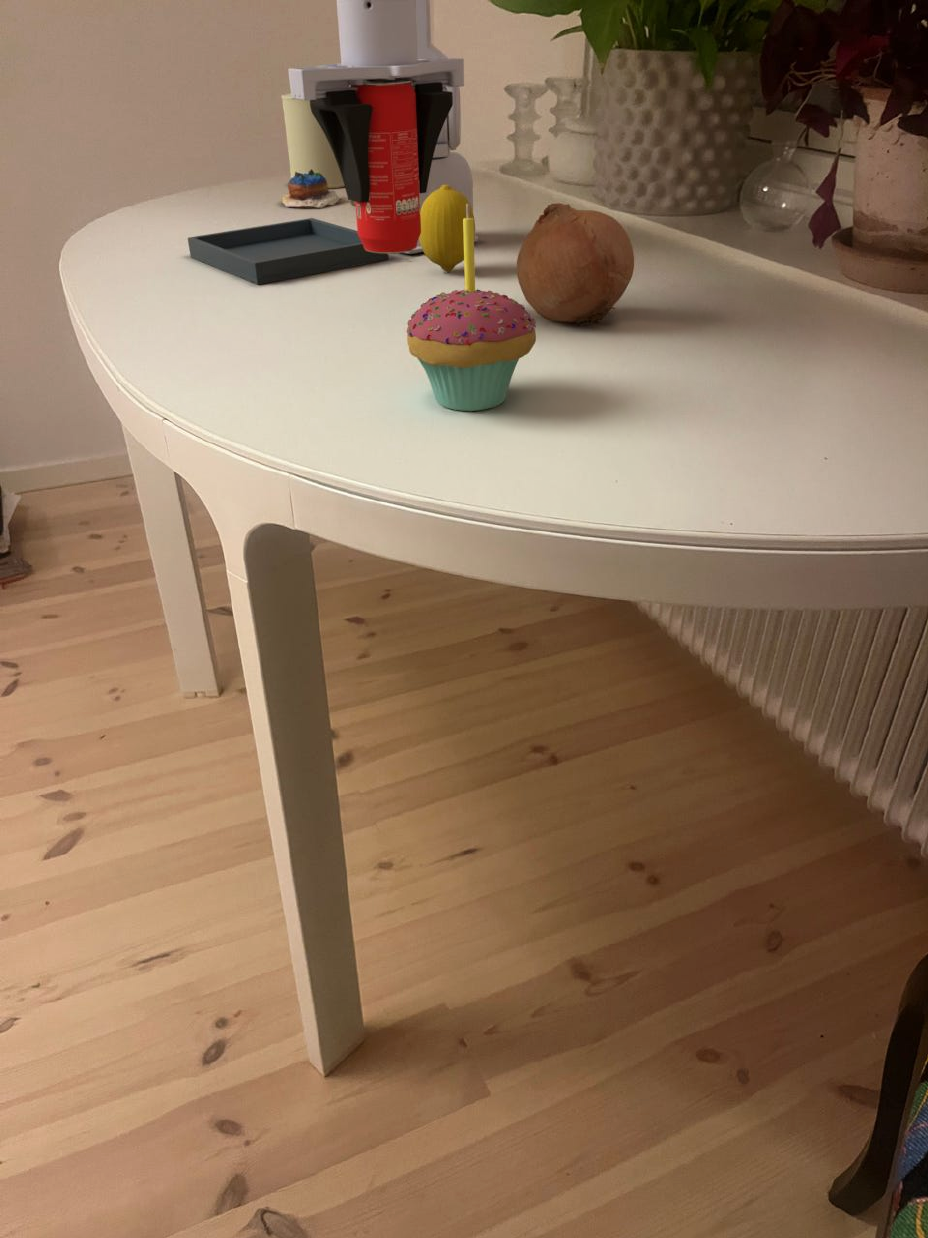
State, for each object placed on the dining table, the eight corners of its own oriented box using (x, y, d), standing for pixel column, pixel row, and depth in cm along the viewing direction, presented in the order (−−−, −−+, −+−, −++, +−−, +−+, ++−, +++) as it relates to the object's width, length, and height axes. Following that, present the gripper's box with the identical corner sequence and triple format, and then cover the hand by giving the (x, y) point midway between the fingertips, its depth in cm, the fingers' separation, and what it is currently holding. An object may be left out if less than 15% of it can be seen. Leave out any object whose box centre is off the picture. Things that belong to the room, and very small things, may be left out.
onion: (528, 351, 82) (483, 237, 79) (620, 307, 84) (580, 194, 81) (569, 341, 73) (520, 212, 70) (671, 293, 75) (627, 165, 72)
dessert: (290, 190, 129) (309, 152, 126) (331, 220, 131) (351, 183, 127) (269, 206, 123) (289, 166, 120) (312, 237, 125) (333, 199, 121)
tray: (313, 236, 108) (312, 217, 107) (388, 259, 98) (387, 239, 97) (190, 257, 101) (187, 237, 100) (257, 284, 91) (254, 263, 90)
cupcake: (408, 380, 68) (398, 199, 61) (525, 374, 68) (529, 195, 61) (412, 426, 60) (402, 226, 54) (544, 419, 61) (550, 221, 54)
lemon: (469, 279, 91) (468, 189, 86) (414, 278, 92) (410, 188, 87) (480, 265, 95) (479, 179, 91) (427, 264, 96) (423, 178, 92)
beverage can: (373, 257, 75) (361, 84, 68) (349, 244, 79) (335, 79, 72) (432, 249, 77) (426, 80, 70) (405, 237, 81) (397, 75, 74)
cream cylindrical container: (282, 188, 135) (271, 93, 129) (301, 178, 143) (292, 87, 136) (344, 189, 134) (336, 92, 127) (360, 178, 141) (354, 87, 135)
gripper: (317, -6, 62) (336, 215, 69) (488, -11, 69) (488, 190, 77) (265, -6, 66) (288, 202, 74) (431, -10, 74) (436, 180, 81)
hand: (387, 195), depth 76 cm, fingers closed on beverage can, 5 cm apart
